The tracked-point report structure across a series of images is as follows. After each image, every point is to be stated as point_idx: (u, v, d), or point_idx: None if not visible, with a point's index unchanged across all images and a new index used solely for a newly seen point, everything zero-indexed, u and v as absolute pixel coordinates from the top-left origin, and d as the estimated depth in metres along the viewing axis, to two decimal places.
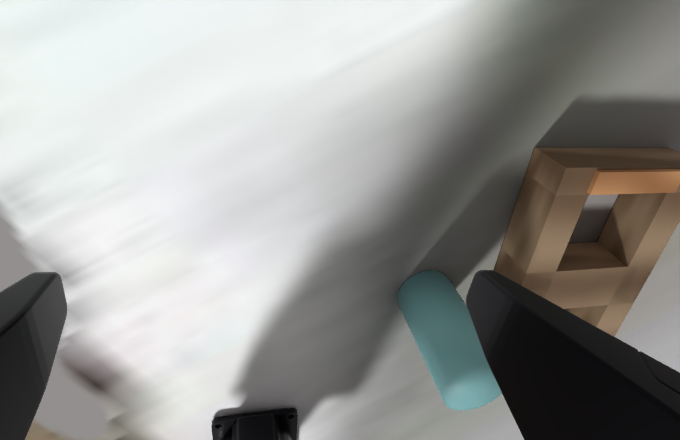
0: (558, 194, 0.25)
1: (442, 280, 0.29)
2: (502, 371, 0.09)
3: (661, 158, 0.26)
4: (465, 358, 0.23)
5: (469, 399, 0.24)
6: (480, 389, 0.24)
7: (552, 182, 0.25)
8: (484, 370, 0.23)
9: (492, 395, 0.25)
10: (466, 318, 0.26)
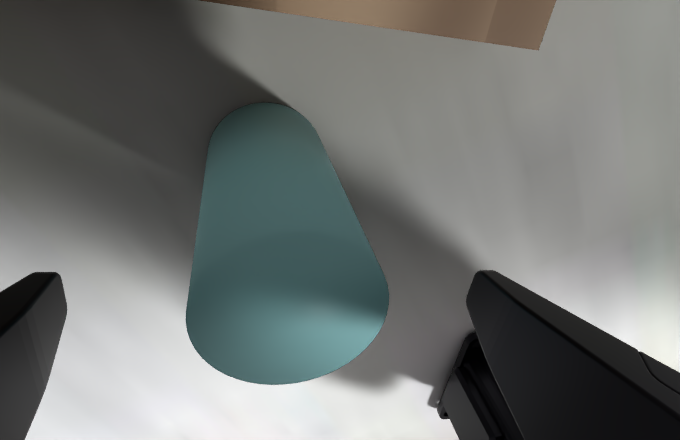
0: None
1: (209, 151, 0.14)
2: (502, 371, 0.09)
3: None
4: None
5: (339, 320, 0.09)
6: (305, 304, 0.08)
7: None
8: (222, 315, 0.08)
9: (346, 265, 0.08)
10: (201, 207, 0.11)
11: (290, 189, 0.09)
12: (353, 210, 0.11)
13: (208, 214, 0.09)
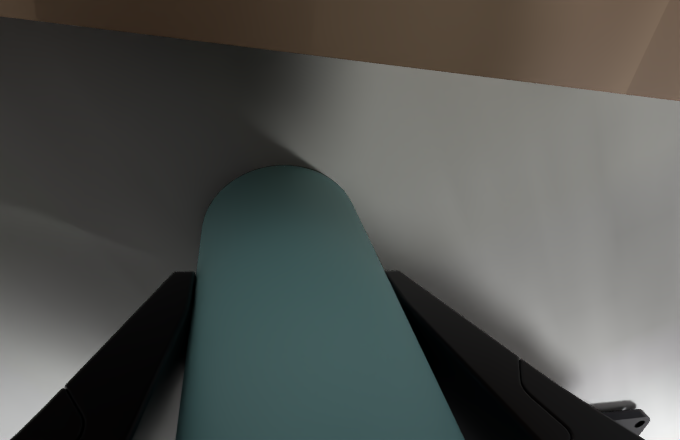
0: None
1: (203, 238, 0.10)
2: None
3: None
4: None
5: None
6: None
7: None
8: None
9: None
10: (185, 370, 0.07)
11: (345, 391, 0.05)
12: (433, 374, 0.07)
13: (195, 418, 0.05)
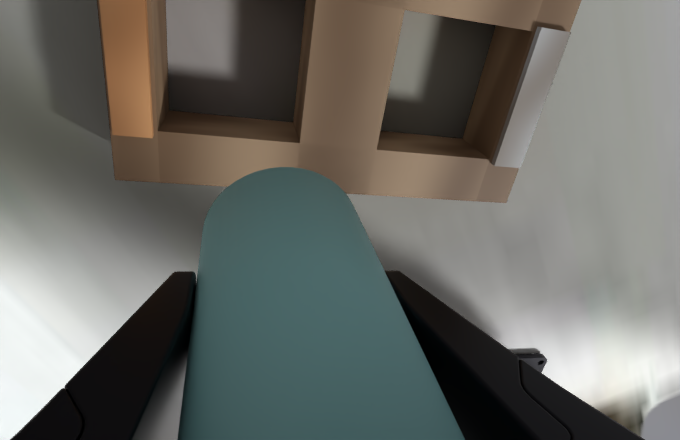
0: (159, 177, 0.18)
1: (204, 240, 0.10)
2: None
3: None
4: None
5: None
6: None
7: None
8: None
9: None
10: (187, 372, 0.07)
11: (347, 394, 0.05)
12: None
13: (197, 421, 0.05)
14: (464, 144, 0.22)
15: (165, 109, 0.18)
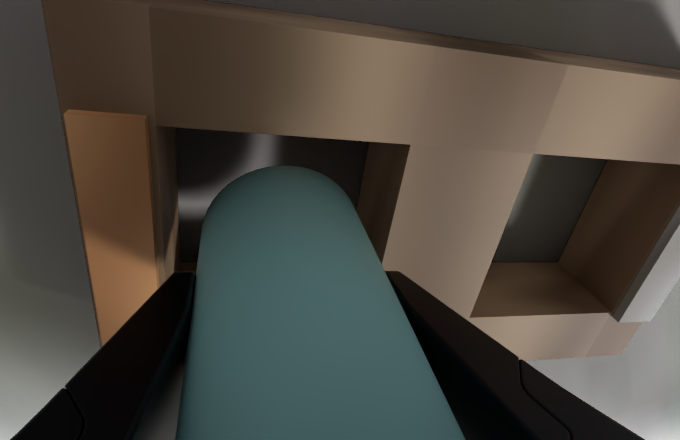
0: None
1: (203, 238, 0.10)
2: None
3: None
4: None
5: None
6: None
7: None
8: None
9: None
10: (185, 371, 0.06)
11: (347, 393, 0.05)
12: None
13: (195, 421, 0.05)
14: (566, 277, 0.17)
15: None
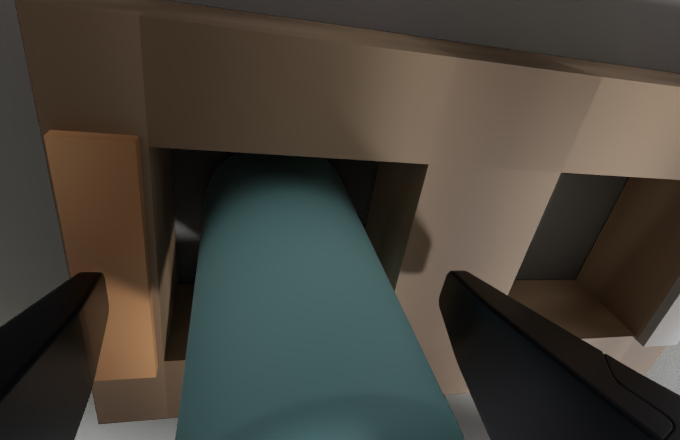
0: (168, 411, 0.12)
1: (207, 204, 0.11)
2: (471, 373, 0.09)
3: None
4: None
5: None
6: None
7: None
8: None
9: (410, 428, 0.05)
10: (194, 300, 0.08)
11: (321, 298, 0.06)
12: None
13: (203, 326, 0.07)
14: (585, 296, 0.16)
15: (173, 297, 0.12)
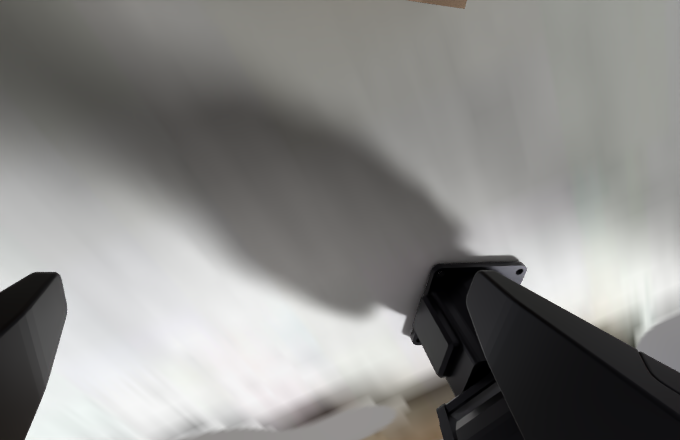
0: None
1: None
2: (502, 371, 0.09)
3: None
4: None
5: None
6: None
7: None
8: None
9: None
10: None
11: None
12: None
13: None
14: None
15: None
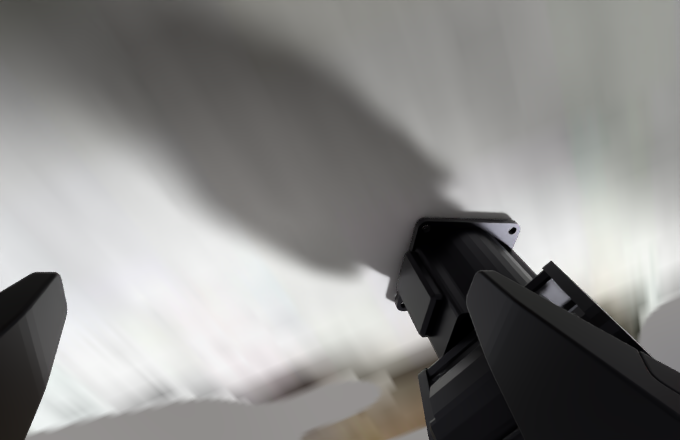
0: None
1: None
2: (502, 371, 0.09)
3: None
4: None
5: None
6: None
7: None
8: None
9: None
10: None
11: None
12: None
13: None
14: None
15: None
